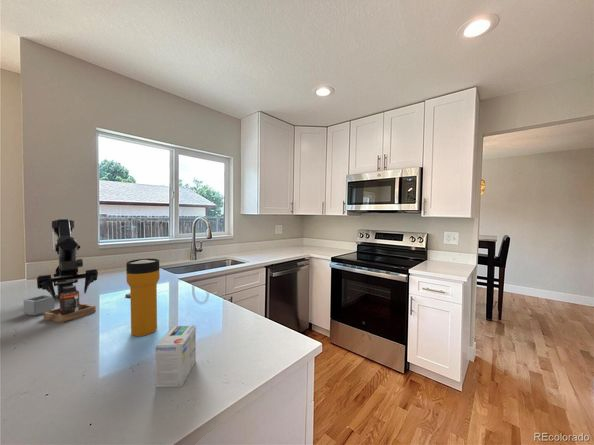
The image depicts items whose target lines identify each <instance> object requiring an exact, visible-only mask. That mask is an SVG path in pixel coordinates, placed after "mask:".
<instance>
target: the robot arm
mask: <svg viewBox="0 0 594 445" xmlns="http://www.w3.org/2000/svg"><path fill="white" fill-rule="evenodd" d="M73 229H75V220H72V219H69V218H60V219H54V220H52V221H51V230H53V234H54V235H55V236H56V237H57V239H56V244H54V252H55V253H56V254H57V255H58V266H57V267H56V269H55V271H54V273H53V277H52V275H51V274H43V275H38V276H37V277H36V284H37V285H36V287H37V289H39V290H41V289H42V290H43V291H44V290H45V291H46V292H48V293H49V295H50V296H52V297H53V298H54V299H55V300H56V298H58V299H60V294H61V293H62V292H63V287H66V286H72V285H74V284H77V283H78V282H79V280H82V279H83V280H84V279H85V280H84V290H83V292H84V294H87V291H88V288H89V286H90V284H92V283H94V282H95V281H97V280H98V275H99V271H98V269H96V268H92V269H86V270H85V273H80V274H79V268H83V265H84V262H83V258H78V259H77V254H78V251H79V250H80V249H81V245H80V244H78V242H77V240H76V238H74V237H73V236H72V233H73ZM54 287H56V288H57V294H56V292H55V291H56V290H55V288H54Z"/></svg>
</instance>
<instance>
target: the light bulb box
mask: <svg viewBox="0 0 594 445" xmlns="http://www.w3.org/2000/svg"><path fill="white" fill-rule="evenodd" d="M196 327H197V326H196V325H181V326H180V325H179V326H178V325H176V326H175V325H174V326H172V327H171V328H170V329H169V330H168V331H167V332H166V334H165V335H164V336H163V337H162V338H161V339H160V340H159V341H158V342H157V344H156V345H154V355H155V357H154V359H155V361H154V362H155V364H154V367H155V388H175V387H178V388H179V387H183V386H184V384H185V381H186V380H187V378H188V376H189V375H190V372H191V370H192V369H193V367H194V366H195V364H196V361H197V355H196V354H197V352H196V349H197V348H196V346H197V343H196V342H197V341H196V337H197V336H196V331H197V328H196Z"/></svg>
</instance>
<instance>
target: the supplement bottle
mask: <svg viewBox="0 0 594 445" xmlns="http://www.w3.org/2000/svg"><path fill="white" fill-rule="evenodd" d="M79 303H80V291H79V290H77V286H76V285H74V284H73V285H72V286H66V287H63V292H62V293H61V294H60V298H59V308H60V315H67V314H70V313H74V312H77V311H80V304H79Z"/></svg>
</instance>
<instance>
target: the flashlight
mask: <svg viewBox="0 0 594 445" xmlns="http://www.w3.org/2000/svg"><path fill="white" fill-rule="evenodd" d="M125 267H126V268H125V270H126V283H127V285H128V286H129V288H130V290H129V291H130V292H129V293H130V334H131V336H134V335H135V337H144V335H146V336H149V335H151V334H153V333H154V332H156V331H157V330H156V329H158V304H157V303H158V300H157V296H158V292H157V291H158V289H157V288H158V286H157V284H158V282H159V281H160V259H158V258H140V259H133V260H129V261H126V266H125ZM155 330H156V331H155ZM152 332H153V333H152ZM150 333H151V334H150ZM148 334H149V335H148Z"/></svg>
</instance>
